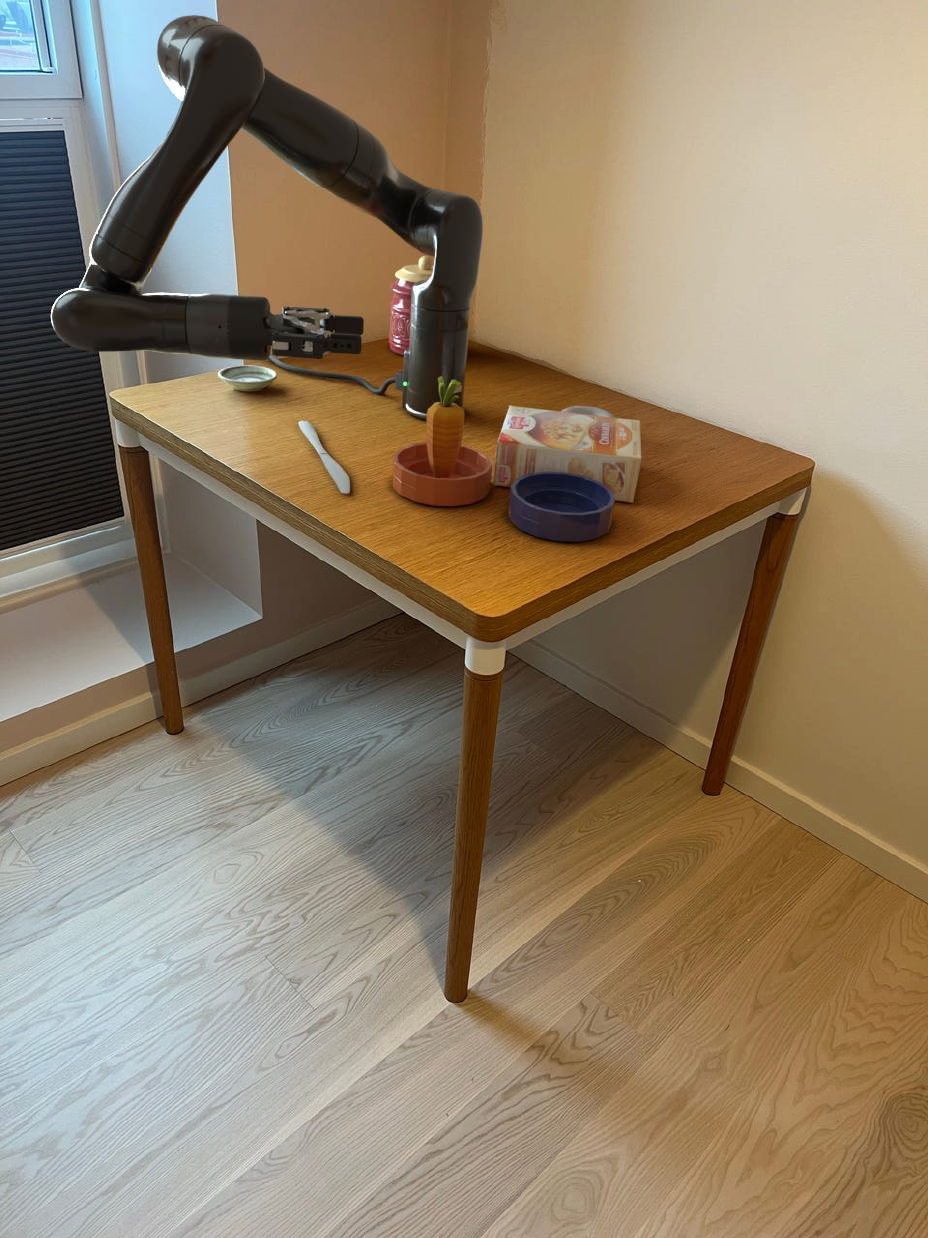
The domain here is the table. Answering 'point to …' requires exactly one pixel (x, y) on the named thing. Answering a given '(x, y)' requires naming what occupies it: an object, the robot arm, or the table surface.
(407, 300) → the kitchen canister
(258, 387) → the saucer
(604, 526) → the indigo bowl
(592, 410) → the donut
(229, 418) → the table surface
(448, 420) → the carrot
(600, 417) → the coffeecake box
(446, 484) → the terracotta bowl
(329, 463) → the butter knife
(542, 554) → the table surface
